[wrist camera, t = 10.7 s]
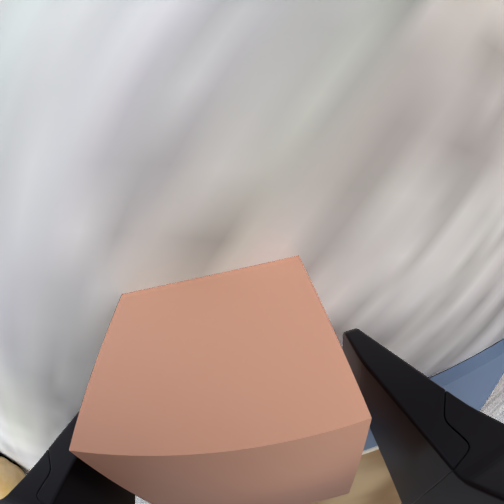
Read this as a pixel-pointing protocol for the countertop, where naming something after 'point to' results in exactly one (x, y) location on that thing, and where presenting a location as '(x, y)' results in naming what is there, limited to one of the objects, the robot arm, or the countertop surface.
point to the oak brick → (369, 484)
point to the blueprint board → (466, 381)
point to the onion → (9, 476)
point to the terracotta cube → (224, 393)
